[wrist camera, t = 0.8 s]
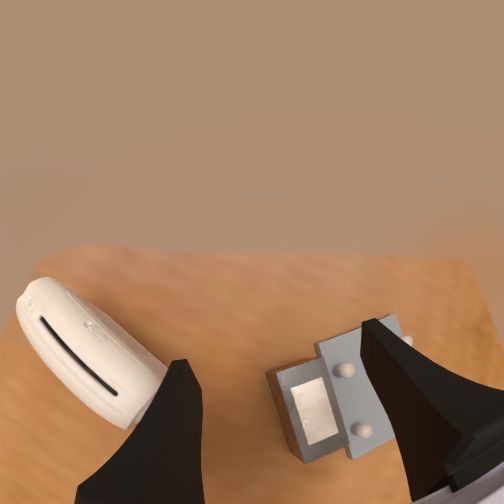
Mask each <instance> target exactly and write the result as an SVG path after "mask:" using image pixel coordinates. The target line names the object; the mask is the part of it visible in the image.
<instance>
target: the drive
mask: <svg viewBox="0 0 504 504" xmlns="http://www.w3.org/2000/svg"><path fill="white" fill-rule="evenodd" d="M266 376H267V379H268V382H269V385H270V388H271V392H272V395H273V398H274V401H275V404H276V407H277V411H278V414H279V417H280V420H281V423H282V426H283V429H284V432H285V435H286V439H287V442H288V445H289V448H290V451H291V453H292V454H293V455H295V456H296V457H297V458H298V459H300V460H301V461H302V462H303V463H304V464H306V463H308V462H311V461H313V460H316V459H318V458H321V457H323V456H325V455H327V454H330V453H332V452H334V451H336V450H339V449H341V448H343V447H345V446H347V445H349V444H350V443H349V439H348V435H347V432H346V428H345V425H344V422H343V418H342V415H341V411H340V408H339V405H338V401H337V398H336V394H335V391H334V388H333V385H332V381H331V378H330V375H329V372H328V368H327V365H326V362H325V359H324V356H322V357H314V358H307V359H304V360H301V361H299V362H296V363H293V364H290V365H287V366H284V367H281V368H278V369H274V370H271V371H268V372H266Z"/></svg>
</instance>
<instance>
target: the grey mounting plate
mask: <svg viewBox="0 0 504 504" xmlns="http://www.w3.org/2000/svg"><path fill="white" fill-rule="evenodd" d="M379 321H380V322H381V323H382V324H384V325H385V326H386V327H387V328H388V329H390V330H391V331H392V332H393V333H395V334H396V335H397V336H398V337H400V338H401V339H402V340H403V341H405V342H406V343H407V344H409V345H410V346H411V347H412V345H413V339H412V338H411V337H410V336H405V337H403V335H402V332H401V329H400V325H399V322H398V319H397V316H396V313H394V314H392V315H389V316H387V317H384V318H382V319H380V320H379ZM361 330H362V327H360V328H357V329H355V330H352V331H350V332H347V333H345V334H342V335H339V336H337V337H334V338H331V339H328V340H326V341H323V342H320V343H317V344H314V345H315V348H316V351H317V355H318V357H322V356H324V359H325V362H326V365H327V368H328V372H329V375H330V378H331V381H332V385H333V388H334V391H335V394H336V398H337V401H338V405H339V408H340V411H341V415H342V418H343V422H344V425H345V428H346V432H347V435H348V439H349V443H350V444H349V445H347V446H345V448H346V451H347V455H348V458H350V459H352V460H354V459H356V458H358V457H360V456H362V455H364V454H366V453H367V452H369V451H371V450H373V449H375V448H377V447H378V446H380V445H382V444H384V443H386V442H387V441H389V440H391V439H392V438H394V437H395V434H394V431H393V429H392V426H391V423H390V421H389V418H388V416H387V414H386V412H385V410H384V408H383V406H382V404H381V402H380V400H379V398H378V396H377V394H376V392H375V390H374V388H373V386H372V384H371V382H370V380H369V378H368V376H367V374H366V371H365V369H364V366H363V363H362V360H361V357H360V346H361Z"/></svg>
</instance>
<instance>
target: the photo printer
mask: <svg viewBox="0 0 504 504" xmlns="http://www.w3.org/2000/svg"><path fill="white" fill-rule="evenodd" d="M16 314H17V317H18V320H19V323H20V325H21V327H22V329H23V331H24V333H25V335H26V337H27V338H28V340H29V342H30V343H31V345H32V346H33V348H34V349H35V351H36V352H37V353H38V355H39V356H40V357H41V359H42V360H43V361H44V362H45V364H46V365H47V366H48V367H49V368H50V370H51V371H52V372H53V373H54V374H55V375H56V376H57V377H58V378H59V379H60V381H61V382H62V383H63V384H64V385H65V386H66V387H67V388H68V389H69V390H70V391H71V392H72V393H73V394H75V395H76V396H77V397H78V398H79V399H80V400H81V401H82V402H83V403H85V404H86V405H87V406H88V407H89V408H91V409H92V410H93V411H94V412H96V413H97V414H98V415H100V416H101V417H103V418H104V419H106V420H107V421H109V422H110V423H112V424H114V425H116V426H118V427H120V428H122V429H124V430H128V429H130V428H131V427H132V426H134V425H135V424H136V423H139V422H140V420H141V418H142V417H143V415H144V413H145V412H146V410H147V408H148V407H149V405H150V403H151V402H152V400H153V398H154V396H155V394H156V392H157V390H158V388H159V386H160V384H161V382H162V380H163V378H164V376H165V374H166V372H167V370H168V368H167V367H166V366H165V365H164V364H163V363H162V362H161V361H159V360H158V359H157V358H156V357H155V356H154V355H153V354H151V353H150V352H149V351H148V350H147V349H146V348H145V347H143V346H142V345H141V344H140V343H139V342H138V341H137V340H136V339H134V338H133V337H132V336H131V335H130V334H129V333H128V332H127V331H126V330H124V329H123V328H122V327H121V326H120V325H119V324H118V323H116V322H115V321H114V320H113V319H112V318H111V317H110V316H109V315H107V314H106V313H105V312H103V311H102V310H100V309H99V308H97V307H95V306H94V305H92V304H91V303H89V302H88V301H86V300H85V299H83V298H82V297H81V296H79V295H78V294H76V293H75V292H73V291H72V290H71V289H69V288H68V287H66V286H65V285H64V284H62V283H61V282H59V281H58V280H56V279H54V278H51V277H44V278H40V279H37V280H35V281H33V282H31V283H30V284H29V285H28V287H27V289H26V291H25V292H24V293H23V295H22V296H20V297H19V298H18V300H17V304H16Z"/></svg>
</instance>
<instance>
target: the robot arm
mask: <svg viewBox="0 0 504 504" xmlns="http://www.w3.org/2000/svg"><path fill="white" fill-rule="evenodd" d="M360 357H361V360H362V363H363V366H364V369H365V371H366V374H367V376H368V378H369V380H370V382H371V384H372V386H373V388H374V390H375V392H376V394H377V396H378V398H379V400H380V402H381V404H382V406H383V408H384V410H385V412H386V414H387V416H388V418H389V421H390V423H391V426H392V429H393V431H394V434H395V437H396V440H397V443H398V447H399V450H400V453H401V456H402V460H403V464H404V468H405V472H406V476H407V480H408V485H409V490H410V496H411V500H412V503H410V504H504V391H503V390H499V389H495V388H491V387H488V386H485V385H482V384H479V383H476V382H473V381H471V380H468V379H466V378H464V377H462V376H459V375H457V374H455V373H453V372H451V371H449V370H447V369H445V368H443V367H442V366H440V365H438V364H436V363H435V362H433V361H432V360H430V359H428V358H427V357H425V356H424V355H422V354H421V353H420V352H418V351H417V350H415V349H414V348H413V347H411V346H410V345H409V344H407V343H406V342H405V341H403V340H402V339H401V338H400V337H398V336H397V335H396V334H395V333H393V332H392V331H391V330H390V329H388V328H387V327H386V326H385V325H384V324H382V323H381V322H380V321H379V320H377V319H376V318H374V319H370V320H367V321H363V322H362V330H361V346H360ZM202 418H203V405H202V391H201V387H200V385H199V383H198V381H197V379H196V377H195V375H194V373H193V371H192V369H191V367H190V365H189V363H188V361H187V359H182V360H175V361H172V362H171V364H170V366H169V368H168V370H167V372H166V374H165V376H164V378H163V380H162V382H161V384H160V386H159V388H158V390H157V392H156V394H155V396H154V398H153V400H152V402H151V403H150V405H149V407H148V408H147V410H146V412H145V413H144V415H143V417H142V418H141V420H140V422H139V423H138V425H137V426H136V427H135V429H134V430H133V432H132V433H131V434H130V436H129V437H128V438H127V440H126V441H125V442H124V443H123V445H122V446H121V447H120V448H119V449H118V450H117V452H116V453H115V454H114V455H113V456H112V457H111V458H110V459H109V460H108V461H107V462H106V463H105V464H104V465H103V466H102V467H101V468H100V469H99V470H98V471H96V472H95V473H94V474H93V475H92V476H90V477H89V478H88V479H86V480H85V481H84V482H83V483H81V484H80V485H78V488H77V492H76V497H75V503H74V504H205V500H204V492H203V483H202V473H201V438H202Z"/></svg>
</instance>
